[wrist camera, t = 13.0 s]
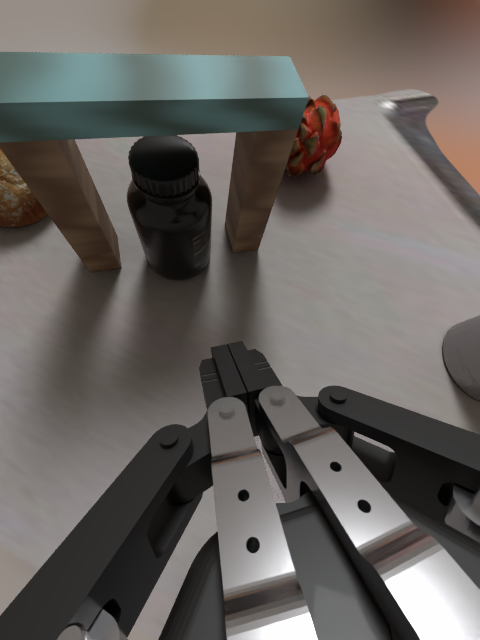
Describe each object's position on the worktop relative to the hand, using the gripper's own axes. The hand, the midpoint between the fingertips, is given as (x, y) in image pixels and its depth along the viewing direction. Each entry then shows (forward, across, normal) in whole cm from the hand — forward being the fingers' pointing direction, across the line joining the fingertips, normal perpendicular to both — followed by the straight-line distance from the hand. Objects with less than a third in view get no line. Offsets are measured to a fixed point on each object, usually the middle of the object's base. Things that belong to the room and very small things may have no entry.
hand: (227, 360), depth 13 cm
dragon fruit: (+29, -17, -9) cm, 35 cm away
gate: (+21, +1, -2) cm, 21 cm away
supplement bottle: (+20, +1, -1) cm, 20 cm away
